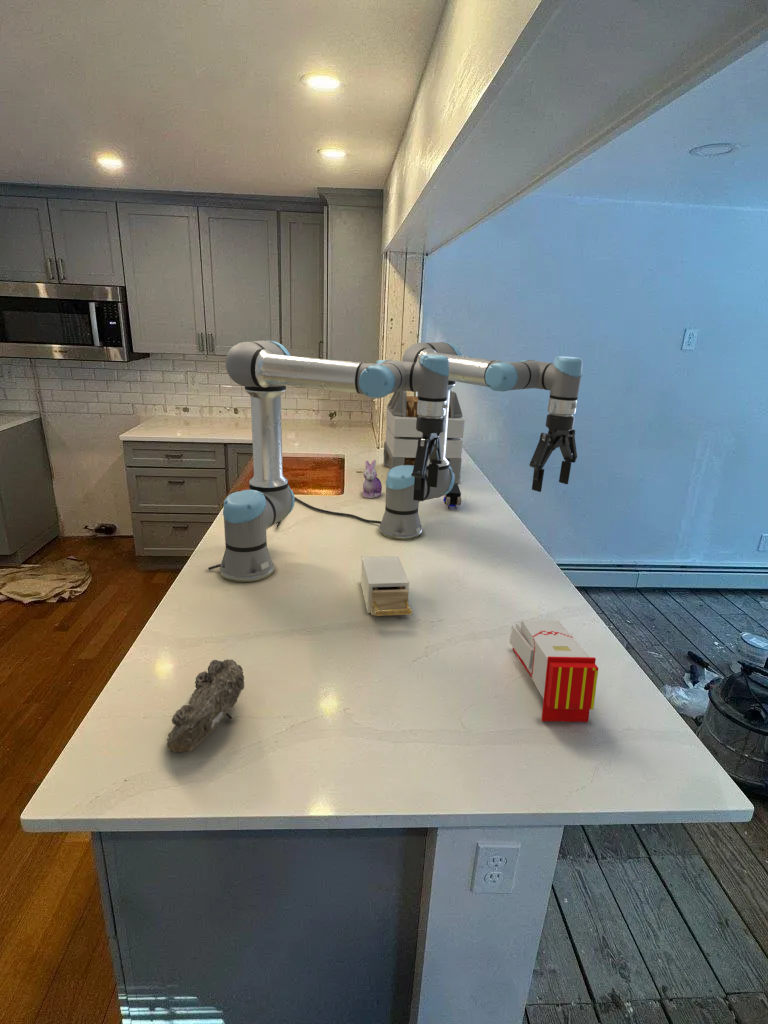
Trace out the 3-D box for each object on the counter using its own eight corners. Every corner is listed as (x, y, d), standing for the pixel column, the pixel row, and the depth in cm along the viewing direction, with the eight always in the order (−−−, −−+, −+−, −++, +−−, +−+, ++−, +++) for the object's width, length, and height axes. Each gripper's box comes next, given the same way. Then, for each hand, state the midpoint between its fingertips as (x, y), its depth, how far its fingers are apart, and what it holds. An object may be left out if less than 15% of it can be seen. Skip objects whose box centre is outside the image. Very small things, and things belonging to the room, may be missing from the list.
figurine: (366, 499, 233) (368, 464, 228) (356, 492, 241) (357, 458, 236) (387, 497, 237) (388, 462, 232) (376, 490, 246) (377, 456, 241)
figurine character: (461, 514, 225) (456, 498, 239) (463, 497, 222) (458, 482, 235) (444, 513, 225) (440, 498, 239) (446, 496, 222) (442, 481, 235)
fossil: (192, 660, 117) (244, 628, 112) (224, 691, 120) (276, 661, 115) (142, 746, 98) (202, 712, 93) (182, 779, 101) (242, 748, 96)
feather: (292, 507, 224) (294, 503, 223) (275, 531, 197) (278, 527, 197) (288, 505, 224) (291, 501, 223) (271, 528, 197) (273, 524, 197)
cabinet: (407, 611, 149) (409, 582, 146) (367, 613, 147) (368, 583, 144) (396, 582, 164) (398, 555, 161) (360, 583, 163) (361, 556, 160)
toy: (555, 605, 135) (607, 664, 106) (550, 657, 138) (599, 728, 109) (505, 604, 135) (543, 662, 106) (500, 656, 138) (537, 727, 108)
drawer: (411, 626, 140) (413, 602, 138) (374, 627, 139) (375, 603, 137) (397, 586, 160) (398, 565, 158) (364, 587, 159) (365, 566, 156)
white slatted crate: (382, 463, 289) (386, 382, 275) (445, 464, 293) (451, 384, 279) (390, 482, 257) (394, 392, 243) (460, 483, 261) (468, 394, 247)
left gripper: (432, 425, 136) (426, 508, 143) (455, 410, 158) (449, 483, 166) (402, 422, 139) (398, 504, 146) (429, 408, 161) (424, 479, 168)
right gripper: (546, 420, 148) (535, 497, 155) (596, 412, 163) (584, 483, 171) (522, 415, 153) (513, 490, 160) (573, 408, 169) (563, 477, 176)
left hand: (425, 493), depth 156 cm, fingers open, 13 cm apart
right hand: (550, 486), depth 165 cm, fingers open, 13 cm apart
